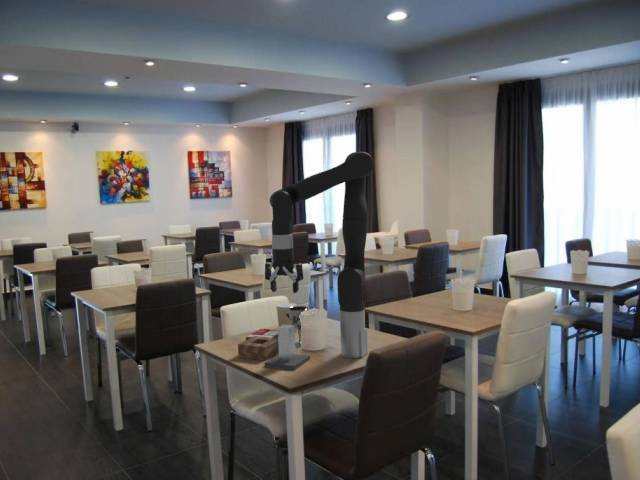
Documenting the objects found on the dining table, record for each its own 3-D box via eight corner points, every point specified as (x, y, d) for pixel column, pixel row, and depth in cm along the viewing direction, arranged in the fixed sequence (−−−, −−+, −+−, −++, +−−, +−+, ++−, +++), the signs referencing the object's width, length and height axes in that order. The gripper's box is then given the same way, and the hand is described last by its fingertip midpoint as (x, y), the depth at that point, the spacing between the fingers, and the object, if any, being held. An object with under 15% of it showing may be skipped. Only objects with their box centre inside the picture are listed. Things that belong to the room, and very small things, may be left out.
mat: (309, 359, 196) (309, 355, 196) (294, 370, 186) (294, 366, 185) (280, 356, 201) (280, 352, 201) (264, 366, 191) (264, 362, 190)
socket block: (281, 351, 208) (281, 338, 208) (265, 360, 197) (265, 347, 197) (255, 348, 213) (254, 335, 213) (238, 357, 202) (237, 344, 202)
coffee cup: (290, 335, 230) (289, 308, 229) (273, 333, 235) (272, 306, 234) (302, 330, 238) (301, 303, 236) (285, 328, 243) (284, 302, 242)
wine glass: (300, 340, 222) (299, 305, 220) (314, 344, 216) (312, 307, 214) (286, 345, 216) (284, 308, 215) (299, 348, 210) (298, 311, 209)
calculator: (283, 329, 228) (270, 337, 214) (283, 339, 229) (270, 347, 214) (259, 328, 231) (245, 335, 217) (260, 338, 232) (245, 346, 217)
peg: (295, 357, 194) (294, 325, 193) (289, 361, 190) (288, 328, 189) (285, 356, 196) (283, 324, 195) (279, 360, 192) (277, 327, 191)
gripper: (305, 246, 190) (307, 291, 192) (270, 245, 196) (272, 289, 198) (295, 248, 183) (297, 295, 185) (259, 248, 189) (262, 293, 191)
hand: (284, 292), depth 191 cm, fingers open, 8 cm apart
